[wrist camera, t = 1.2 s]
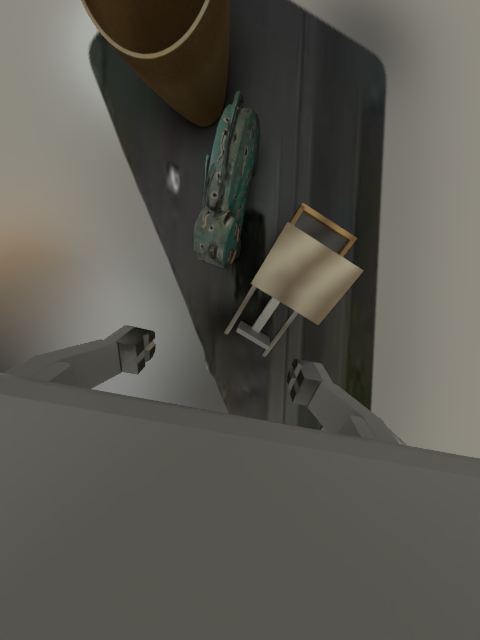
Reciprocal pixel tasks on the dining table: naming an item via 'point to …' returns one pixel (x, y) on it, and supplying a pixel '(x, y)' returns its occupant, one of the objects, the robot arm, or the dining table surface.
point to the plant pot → (172, 49)
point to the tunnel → (306, 269)
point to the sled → (259, 326)
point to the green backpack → (227, 185)
